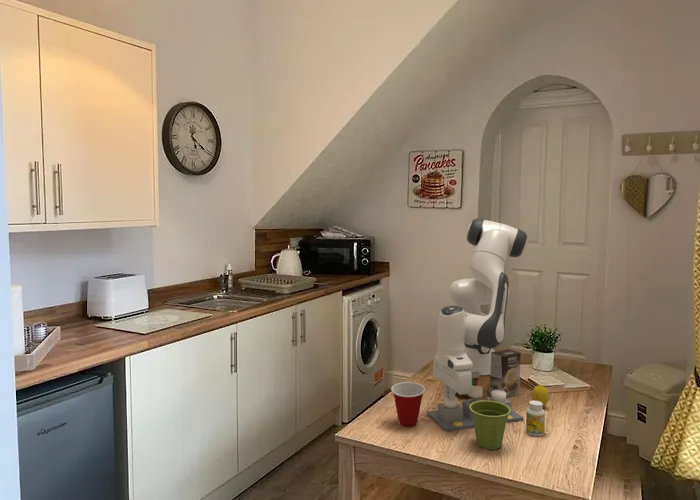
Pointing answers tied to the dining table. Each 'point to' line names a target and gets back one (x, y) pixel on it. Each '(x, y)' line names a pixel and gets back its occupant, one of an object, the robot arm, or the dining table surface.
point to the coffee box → (505, 372)
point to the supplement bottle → (535, 419)
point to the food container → (474, 383)
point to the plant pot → (489, 422)
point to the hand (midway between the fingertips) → (450, 398)
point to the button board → (463, 416)
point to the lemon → (540, 394)
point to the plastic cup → (408, 402)
